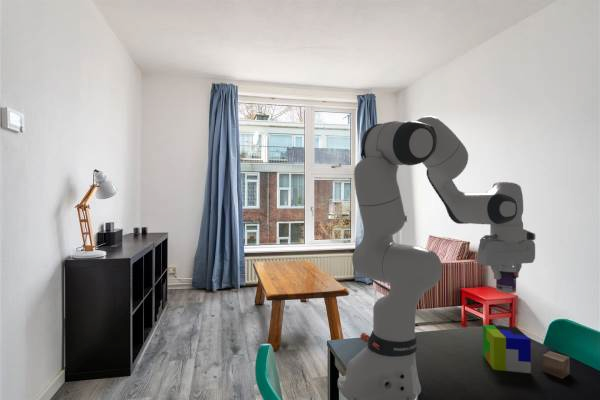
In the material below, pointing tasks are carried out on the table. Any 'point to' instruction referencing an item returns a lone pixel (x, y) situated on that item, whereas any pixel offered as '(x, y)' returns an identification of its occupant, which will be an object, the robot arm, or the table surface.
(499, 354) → the puzzle toy
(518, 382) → the table surface
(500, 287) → the pill bottle
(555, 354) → the walnut block
